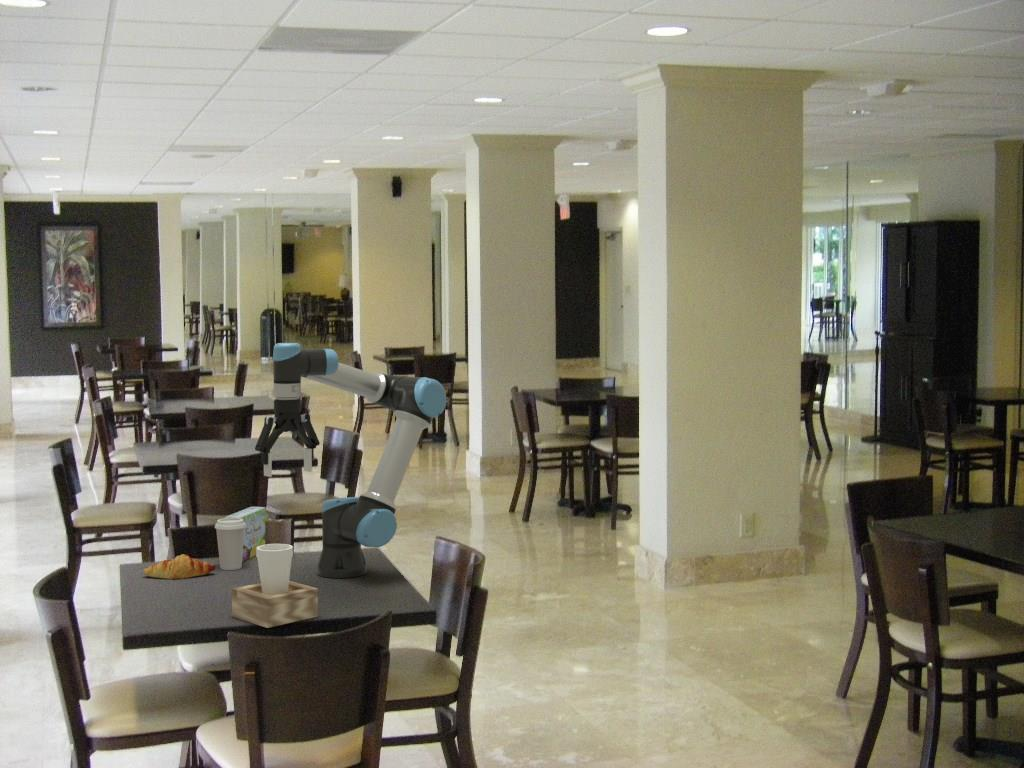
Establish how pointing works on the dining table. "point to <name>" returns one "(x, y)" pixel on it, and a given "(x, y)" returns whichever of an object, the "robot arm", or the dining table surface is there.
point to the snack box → (252, 529)
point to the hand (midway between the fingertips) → (288, 473)
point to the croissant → (179, 568)
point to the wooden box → (274, 604)
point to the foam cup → (274, 567)
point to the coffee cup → (230, 542)
